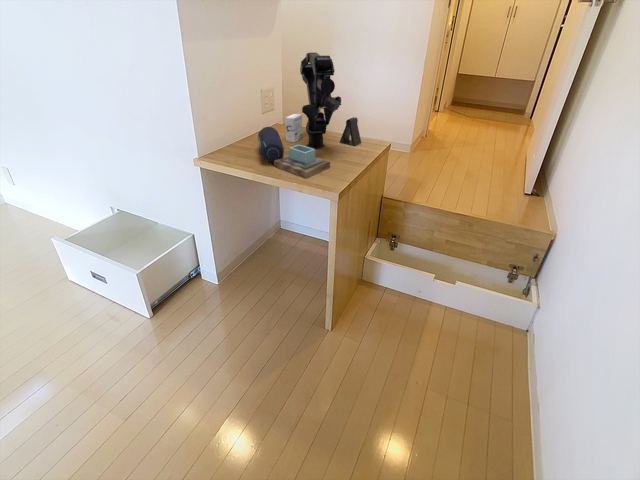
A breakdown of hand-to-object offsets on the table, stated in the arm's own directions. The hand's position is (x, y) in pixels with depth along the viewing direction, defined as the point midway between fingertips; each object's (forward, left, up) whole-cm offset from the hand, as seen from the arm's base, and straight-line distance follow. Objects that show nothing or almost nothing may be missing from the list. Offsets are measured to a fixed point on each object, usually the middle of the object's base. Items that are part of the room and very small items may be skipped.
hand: (320, 126), depth 157 cm
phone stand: (+2, +21, -12) cm, 24 cm away
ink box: (-22, +6, -12) cm, 26 cm away
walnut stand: (+5, -18, -12) cm, 22 cm away
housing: (+5, -18, -9) cm, 21 cm away
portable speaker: (-14, -17, -12) cm, 25 cm away
